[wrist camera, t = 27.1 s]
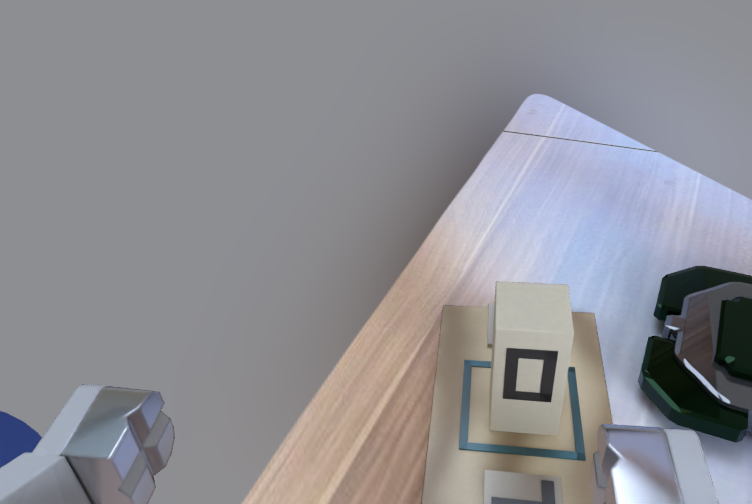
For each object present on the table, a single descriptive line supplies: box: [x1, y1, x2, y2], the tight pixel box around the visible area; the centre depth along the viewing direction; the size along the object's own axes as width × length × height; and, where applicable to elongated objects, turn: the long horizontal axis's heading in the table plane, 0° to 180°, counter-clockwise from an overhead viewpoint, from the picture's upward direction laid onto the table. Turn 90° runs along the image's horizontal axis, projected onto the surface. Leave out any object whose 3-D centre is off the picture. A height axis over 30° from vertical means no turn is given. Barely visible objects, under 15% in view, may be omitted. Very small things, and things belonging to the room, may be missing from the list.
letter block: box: [489, 281, 574, 436], centre depth 45 cm, size 5×5×10 cm
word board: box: [421, 304, 613, 504], centre depth 48 cm, size 13×23×1 cm, turn 171°
